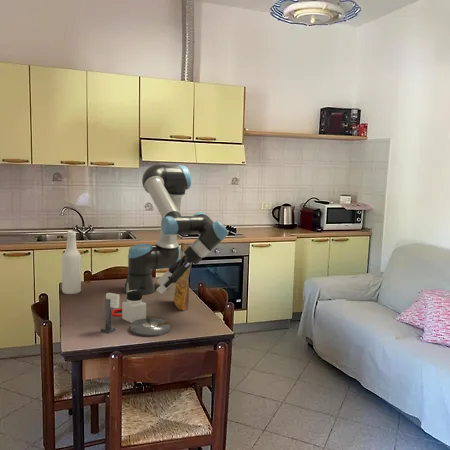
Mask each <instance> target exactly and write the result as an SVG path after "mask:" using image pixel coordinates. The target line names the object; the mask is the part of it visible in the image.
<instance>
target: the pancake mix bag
mask: <svg viewBox="0 0 450 450" xmlns="http://www.w3.org/2000/svg"><path fill="white" fill-rule="evenodd" d="M179 246H180V248H181V249H180V259H181V258H182V257H183V256H184V255H185V253H184V251H185V250H186V249H187V248H188V247H189V245H188V244H185V243H183V242H181V243H179ZM190 265H191V266H190V267H189V268H188V269H187V270H186V271H185V272H184V274H183V275H182V276H181V277H180V278H179V279H178V280H177V281H176V283H175V289H174V293H173V294H174V295H173V296H174V297H173V302H174V305H175V306H176V307H177V309H178V311H187V310H188V309H189V301H190V300H189V299H190V283H189V277H190V274H191V270H192V265H193V262H191V263H190Z"/></svg>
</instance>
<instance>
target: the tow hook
mask: <svg viewBox="0 0 450 450" xmlns="http://www.w3.org/2000/svg"><path fill="white" fill-rule="evenodd" d="M128 291H129V283H127V287H126V292H125V294H126V297H127V292H128ZM126 301H127V299H126V300H125V302H126ZM117 312H122V307H119V308H114V309H111V317H112V316H113V317H117V318H119V317H121V318H122V313H117Z"/></svg>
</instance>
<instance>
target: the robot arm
mask: <svg viewBox="0 0 450 450" xmlns="http://www.w3.org/2000/svg"><path fill="white" fill-rule="evenodd" d="M141 182H142V186H143V188H144V191H145V192H146V193H147V194H149V195H150V197H151V199H152V201H153V202H154V205H155V207H156V209H157V210H158V213H159V214H160V216H161V221H160V222H161V223H160V232H159V239H158V240H156V241H155V246H153V245H152V244H151V243H139V244H134V245H132V246H130V247H129V248H128V253H127V254H128V255H127V264H128V265H127V278H126V281H125V284H124V286H123V287H124V289H123V292H124V293H126V287H127V283H129V291H131V290H139V291H141V292H142V295H149V294H152V293H154V292H155V290H156V291H157V292H158V293H159V294H161V295H162V294H163V293H164V292H166V290H168V289H169V288H170V287H171V286H172V285H173V284H176V281H177V280H178V279H179V278H180V277H181V276H182V275H183V274H184V272H185V271H186V270H187V269H188V268H189V267H190V266H191V265H190V263H191V262H192V264H194V265H198V264H199V263H200V262H202V260H203V258H205V257H206V256H209V255H210V252H212V250H214V248H216V247H217V246H218V245H219V244H220V243H222V241H223V240H225V238H226V237H227V236H228V235H229V230H228V229H227V228H226V227H225V225H224V224H222V223H221V222H220V221H219V220H216V221H213V220H212V219H211V218H210V216H209V215H207V214H206V213H205V212H203V211H202V212H201V211H200V212H196V213H194V214H193V215H191V216H190V215H187V216H186V215H185V216H184V215H181V203H182V197H183V196H184V195H186V191H187V190H189V189H190V188H191V186H192V175H191V173H190V169H189V168H188V167H187V166H185V165H180V164H161V163H160V164H159V163H158V164H157V163H156V164H153V165H151V166H149V167H148V168H147V169H145V171H144V173H143V174H142V180H141ZM198 234H199V237H197V238H196V239H195V240H194V241H193V242H192V243H191V245H190V246H189V245H188V246H189V247H188V248H187V249H186V250H185V251H184V253H185V255H184V256H183V257H182V258H181V259H180V249H181V246H180V243H179V242H178V241H177V238H178V235H198ZM191 267H192V266H191ZM166 269H167V270H166ZM153 270H166V271H165V272H164V273H163V274H162V276H160V277H159V278H158V279H157V280H156V282H157V283H158V284H159V286H158V287H157V288H156V287H155V283H154V280H153V275H152V272H153Z"/></svg>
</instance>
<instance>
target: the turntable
mask: <svg viewBox="0 0 450 450" xmlns="http://www.w3.org/2000/svg"><path fill="white" fill-rule="evenodd" d="M170 324H171V323H169V322H168V321H167V320H165V319H162V318H154V317H146V318H145V319H139V320H136V321H133V322H132V323H130V325H129V326H130V327H129V328H130V332H131V333H132V334H133V335H136V336H139V337H159V336H163V335H165V334H168V333H169V332H170Z"/></svg>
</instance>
